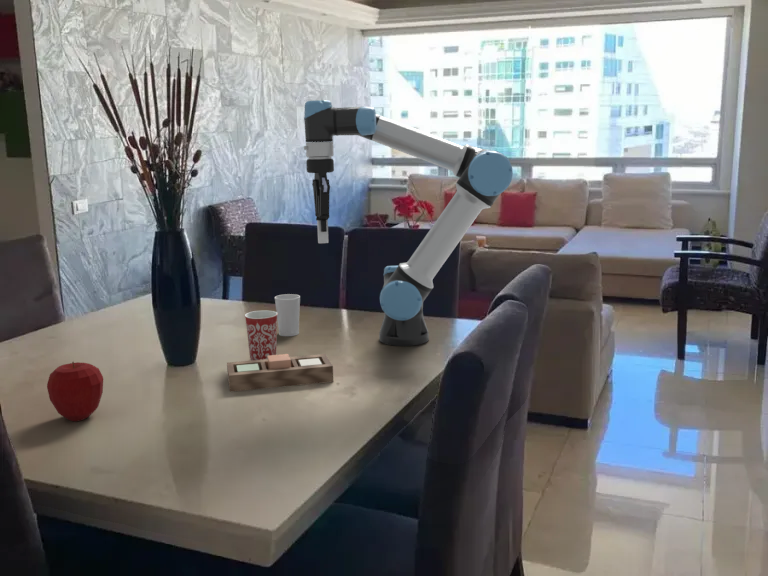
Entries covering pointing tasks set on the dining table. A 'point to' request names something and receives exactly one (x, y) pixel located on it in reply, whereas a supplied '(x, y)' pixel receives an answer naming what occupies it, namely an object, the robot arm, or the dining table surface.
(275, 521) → the dining table surface
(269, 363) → the key terracotta
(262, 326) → the mug
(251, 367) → the key sage
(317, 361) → the key ivory
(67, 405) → the apple
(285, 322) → the cup
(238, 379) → the wooden compartment tray
